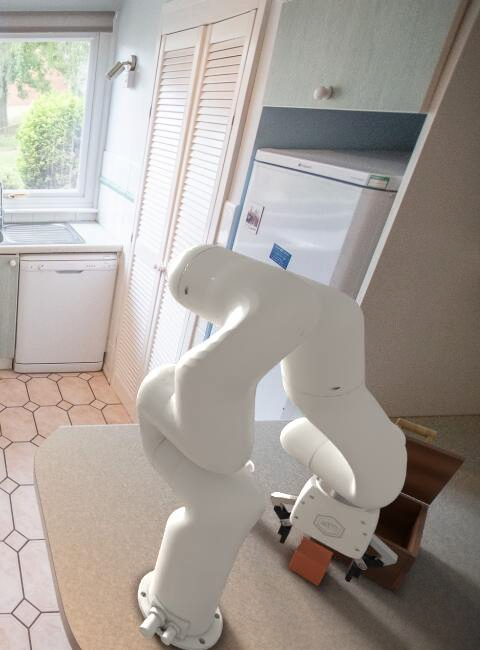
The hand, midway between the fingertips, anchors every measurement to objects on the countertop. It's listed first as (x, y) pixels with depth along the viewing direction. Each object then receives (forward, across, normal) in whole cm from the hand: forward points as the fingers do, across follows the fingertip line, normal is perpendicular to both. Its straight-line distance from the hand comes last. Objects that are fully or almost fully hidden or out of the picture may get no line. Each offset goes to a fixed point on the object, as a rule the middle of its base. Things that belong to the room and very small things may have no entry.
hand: (314, 556), depth 79 cm
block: (+3, 0, -1) cm, 3 cm away
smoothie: (+3, -16, +5) cm, 17 cm away
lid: (-13, +5, +18) cm, 22 cm away
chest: (+3, +5, +13) cm, 15 cm away
